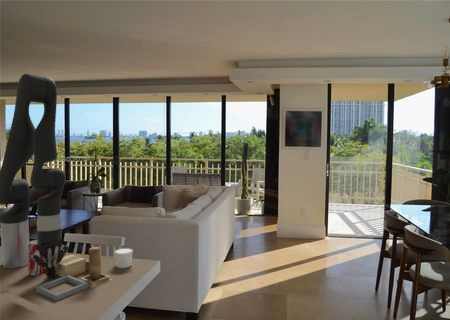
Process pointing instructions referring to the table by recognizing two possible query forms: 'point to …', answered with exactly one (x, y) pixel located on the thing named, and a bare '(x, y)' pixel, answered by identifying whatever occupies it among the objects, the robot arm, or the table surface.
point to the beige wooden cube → (70, 266)
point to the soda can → (32, 265)
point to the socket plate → (98, 282)
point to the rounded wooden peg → (94, 264)
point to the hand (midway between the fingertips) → (50, 276)
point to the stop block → (86, 261)
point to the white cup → (123, 257)
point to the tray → (57, 296)
